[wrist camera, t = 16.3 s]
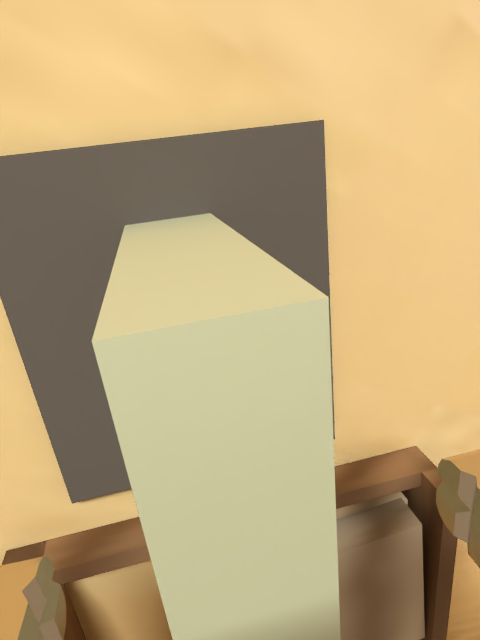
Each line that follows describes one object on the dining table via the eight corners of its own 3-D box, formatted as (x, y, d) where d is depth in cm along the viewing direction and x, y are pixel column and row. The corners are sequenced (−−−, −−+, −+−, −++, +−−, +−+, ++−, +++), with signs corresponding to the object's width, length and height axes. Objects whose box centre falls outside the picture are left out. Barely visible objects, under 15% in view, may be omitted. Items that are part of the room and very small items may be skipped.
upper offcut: (401, 497, 24) (422, 524, 23) (406, 606, 28) (424, 637, 26) (312, 527, 24) (326, 557, 22) (330, 635, 28) (343, 669, 26)
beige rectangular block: (210, 212, 17) (328, 296, 6) (237, 414, 21) (342, 687, 10) (124, 225, 17) (91, 340, 6) (168, 429, 20) (199, 737, 9)
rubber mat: (317, 121, 18) (323, 119, 17) (330, 432, 23) (334, 439, 23) (-40, 161, 15) (-46, 161, 15) (73, 494, 21) (72, 503, 21)
